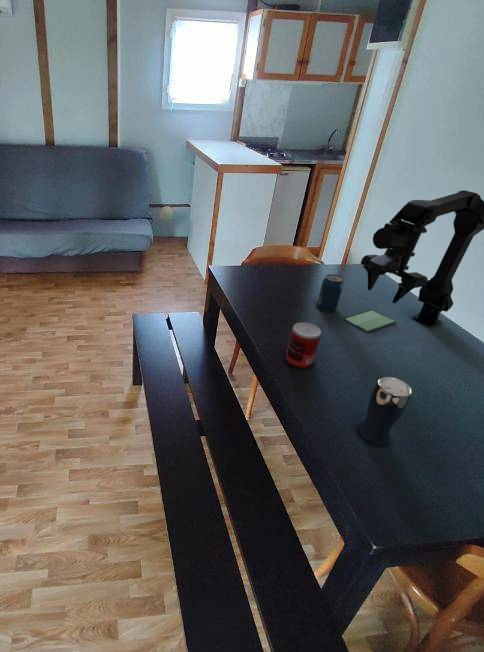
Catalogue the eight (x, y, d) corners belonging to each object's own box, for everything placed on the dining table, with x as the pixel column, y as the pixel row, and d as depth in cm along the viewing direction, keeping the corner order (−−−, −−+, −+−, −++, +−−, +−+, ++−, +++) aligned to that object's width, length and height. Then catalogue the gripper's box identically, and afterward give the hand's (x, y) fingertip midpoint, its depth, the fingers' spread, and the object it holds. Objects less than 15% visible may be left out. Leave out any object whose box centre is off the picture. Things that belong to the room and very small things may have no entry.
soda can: (339, 309, 148) (349, 279, 141) (328, 314, 144) (337, 283, 138) (323, 301, 153) (331, 272, 146) (311, 306, 149) (319, 276, 143)
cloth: (371, 311, 147) (372, 309, 147) (394, 322, 140) (395, 321, 140) (344, 319, 142) (345, 318, 141) (367, 332, 135) (367, 330, 135)
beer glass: (351, 425, 99) (370, 376, 91) (378, 423, 99) (400, 375, 91) (366, 447, 93) (389, 397, 85) (395, 445, 94) (420, 396, 85)
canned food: (312, 356, 123) (321, 324, 117) (312, 371, 117) (321, 339, 111) (285, 350, 125) (293, 320, 119) (284, 365, 119) (292, 333, 113)
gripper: (357, 237, 121) (339, 285, 129) (412, 260, 107) (388, 312, 115) (383, 236, 125) (364, 283, 133) (440, 258, 111) (414, 309, 119)
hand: (381, 296), depth 125 cm, fingers open, 9 cm apart
